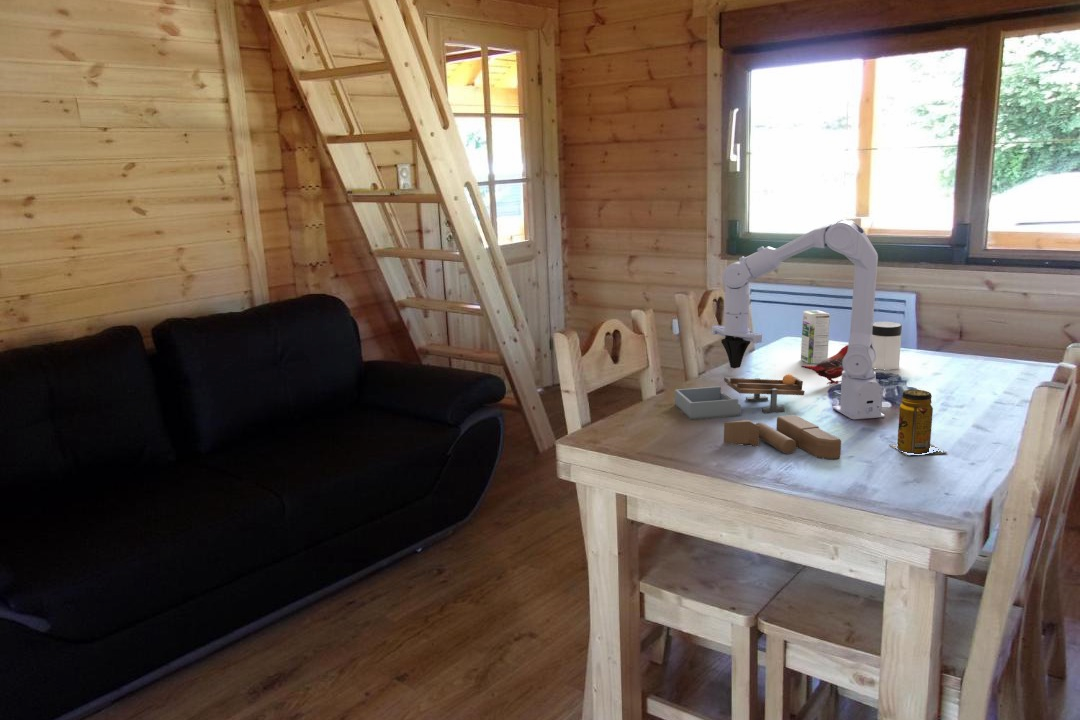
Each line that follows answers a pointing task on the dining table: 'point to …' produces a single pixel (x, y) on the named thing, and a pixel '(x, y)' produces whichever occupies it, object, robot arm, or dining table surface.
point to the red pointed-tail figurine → (830, 366)
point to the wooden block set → (785, 436)
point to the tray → (706, 403)
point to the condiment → (915, 423)
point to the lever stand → (773, 402)
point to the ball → (789, 379)
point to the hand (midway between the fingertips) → (735, 367)
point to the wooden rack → (764, 386)
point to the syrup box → (815, 336)
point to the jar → (886, 344)
